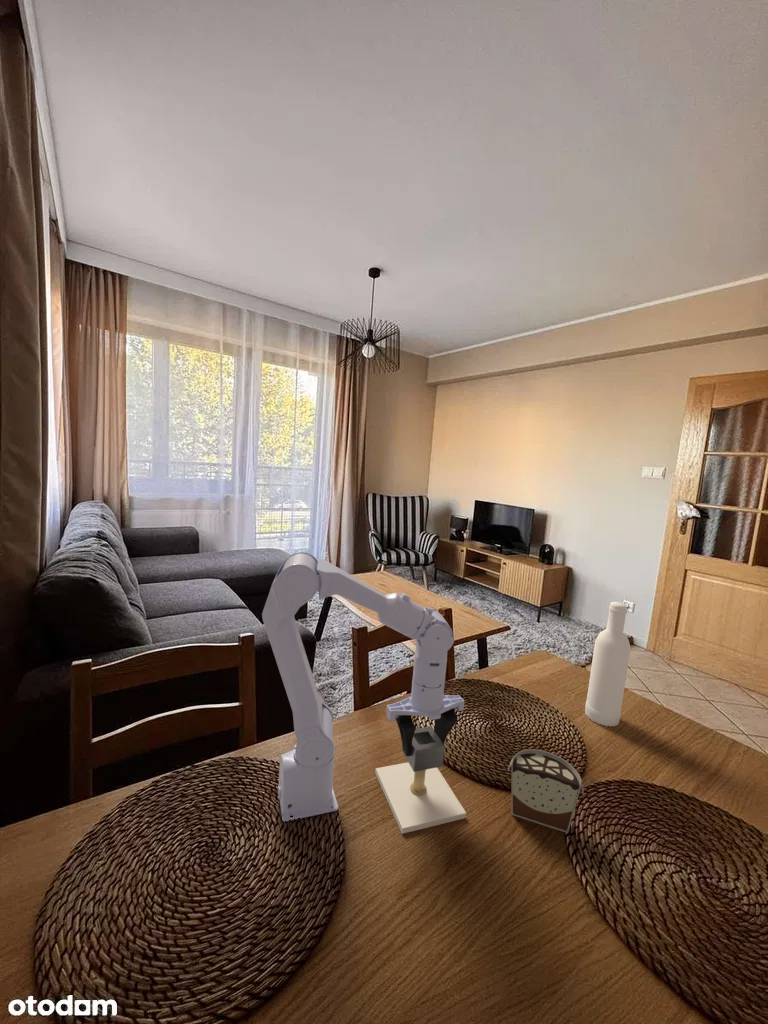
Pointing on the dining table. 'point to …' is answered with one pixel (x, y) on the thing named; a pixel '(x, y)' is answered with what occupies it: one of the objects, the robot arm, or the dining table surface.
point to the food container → (544, 788)
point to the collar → (425, 750)
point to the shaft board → (418, 797)
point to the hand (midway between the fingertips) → (422, 749)
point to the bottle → (609, 670)
